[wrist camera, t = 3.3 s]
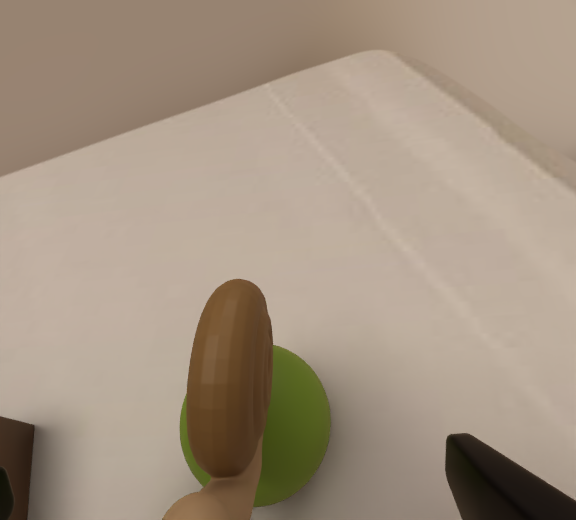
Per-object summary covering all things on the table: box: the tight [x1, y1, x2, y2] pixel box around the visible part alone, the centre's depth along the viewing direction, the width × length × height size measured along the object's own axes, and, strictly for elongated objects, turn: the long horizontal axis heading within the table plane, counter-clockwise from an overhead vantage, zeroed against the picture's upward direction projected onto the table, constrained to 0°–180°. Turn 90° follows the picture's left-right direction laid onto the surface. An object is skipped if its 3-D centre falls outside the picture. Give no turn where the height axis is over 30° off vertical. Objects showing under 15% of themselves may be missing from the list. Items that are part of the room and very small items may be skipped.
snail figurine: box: [162, 279, 331, 520], centre depth 11 cm, size 5×6×12 cm
